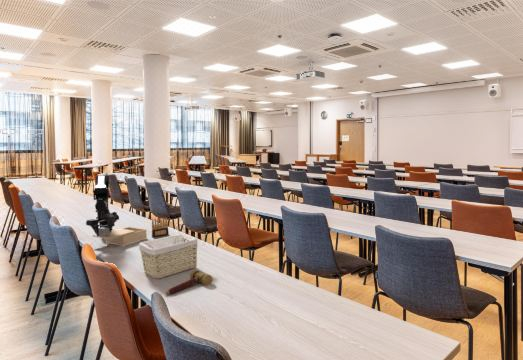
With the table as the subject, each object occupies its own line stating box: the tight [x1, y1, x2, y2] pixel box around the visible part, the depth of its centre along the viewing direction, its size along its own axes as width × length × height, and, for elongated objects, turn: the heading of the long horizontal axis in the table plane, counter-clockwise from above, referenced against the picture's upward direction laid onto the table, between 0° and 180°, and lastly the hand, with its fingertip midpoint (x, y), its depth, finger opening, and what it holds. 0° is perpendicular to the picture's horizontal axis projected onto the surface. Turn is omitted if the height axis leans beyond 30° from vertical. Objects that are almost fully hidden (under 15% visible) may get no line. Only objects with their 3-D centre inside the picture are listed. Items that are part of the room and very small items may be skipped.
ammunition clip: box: [151, 217, 170, 239], centre depth 245 cm, size 11×2×12 cm, turn 122°
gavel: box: [164, 269, 213, 296], centre depth 160 cm, size 21×5×10 cm
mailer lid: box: [92, 227, 135, 240], centre depth 228 cm, size 16×18×5 cm
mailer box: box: [105, 226, 148, 247], centre depth 236 cm, size 16×18×6 cm
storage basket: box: [138, 233, 199, 279], centre depth 181 cm, size 24×16×15 cm
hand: (104, 234), depth 222 cm, fingers open, 8 cm apart
